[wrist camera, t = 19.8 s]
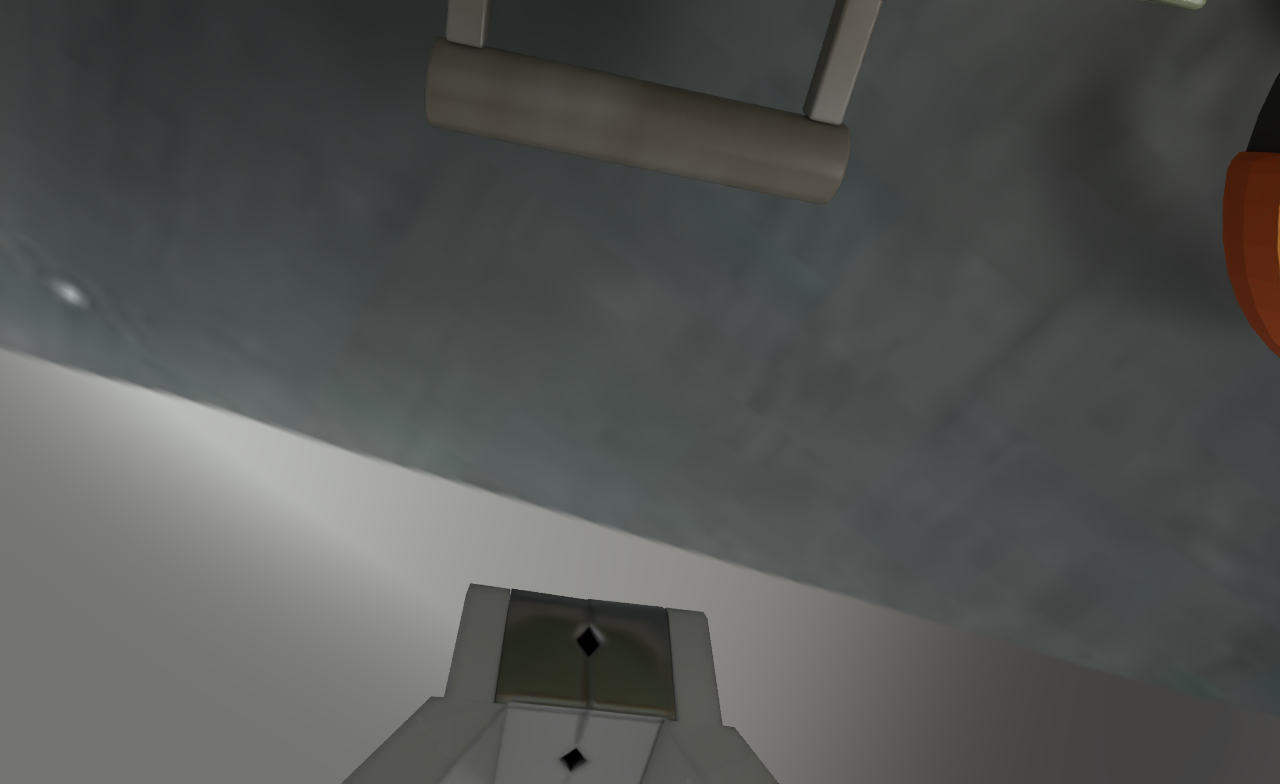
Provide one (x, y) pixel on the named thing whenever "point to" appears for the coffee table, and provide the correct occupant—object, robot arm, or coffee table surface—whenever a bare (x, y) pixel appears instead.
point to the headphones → (1256, 223)
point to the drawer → (656, 109)
